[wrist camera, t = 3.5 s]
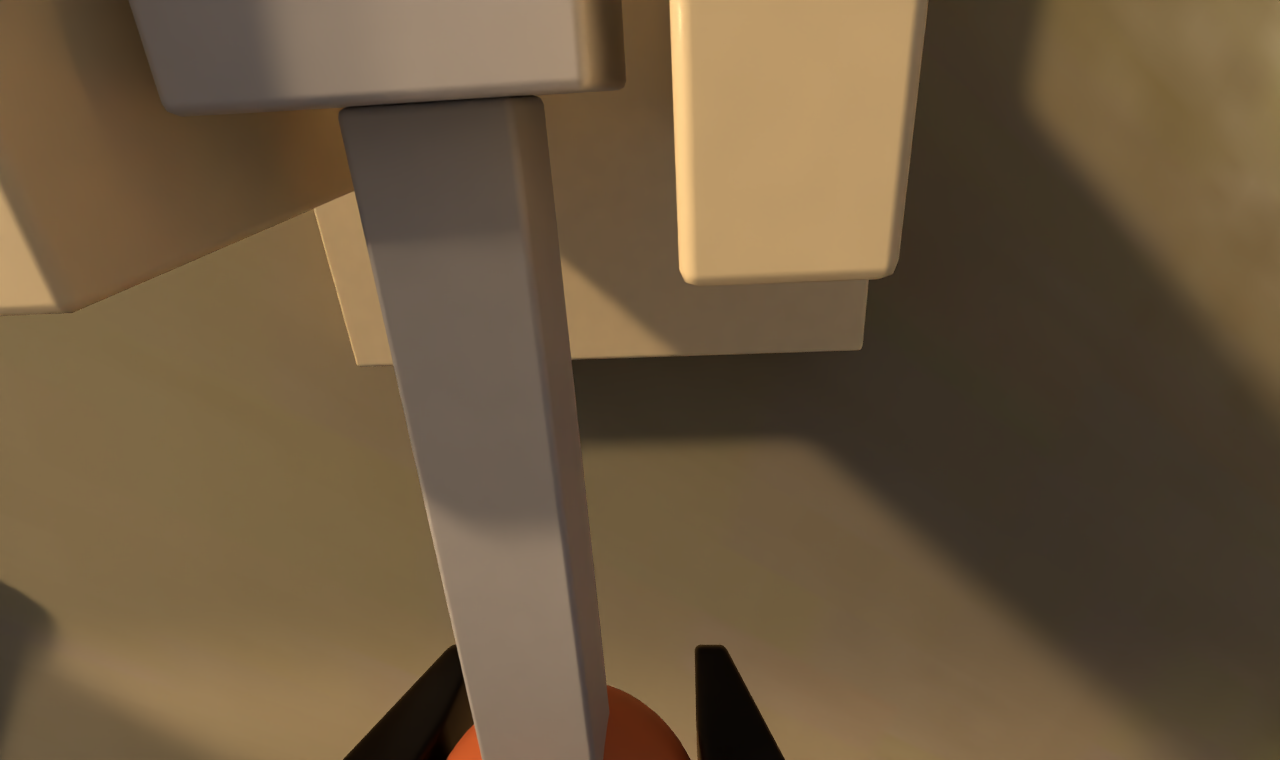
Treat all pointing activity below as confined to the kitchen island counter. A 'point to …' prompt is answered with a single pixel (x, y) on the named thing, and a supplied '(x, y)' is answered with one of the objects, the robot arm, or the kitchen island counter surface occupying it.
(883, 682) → the kitchen island counter surface
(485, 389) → the switch lever
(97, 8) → the switch bracket
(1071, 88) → the kitchen island counter surface
